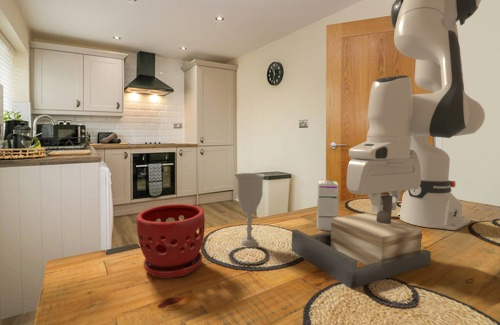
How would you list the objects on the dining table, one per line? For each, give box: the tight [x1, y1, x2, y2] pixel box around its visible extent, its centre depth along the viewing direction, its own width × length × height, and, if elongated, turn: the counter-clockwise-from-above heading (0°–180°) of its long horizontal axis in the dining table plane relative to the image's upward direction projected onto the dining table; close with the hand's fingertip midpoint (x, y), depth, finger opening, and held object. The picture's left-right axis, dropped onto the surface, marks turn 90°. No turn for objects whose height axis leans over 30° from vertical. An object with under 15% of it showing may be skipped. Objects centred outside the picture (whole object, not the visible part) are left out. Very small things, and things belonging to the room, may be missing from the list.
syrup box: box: [316, 180, 340, 232], centre depth 82 cm, size 6×6×14 cm
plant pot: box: [136, 203, 206, 279], centre depth 58 cm, size 13×13×12 cm
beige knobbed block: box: [330, 193, 423, 265], centre depth 63 cm, size 12×14×13 cm
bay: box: [291, 229, 432, 290], centre depth 61 cm, size 22×18×6 cm
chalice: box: [234, 172, 266, 248], centre depth 68 cm, size 7×7×18 cm
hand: (384, 210), depth 64 cm, fingers closed on beige knobbed block, 3 cm apart
